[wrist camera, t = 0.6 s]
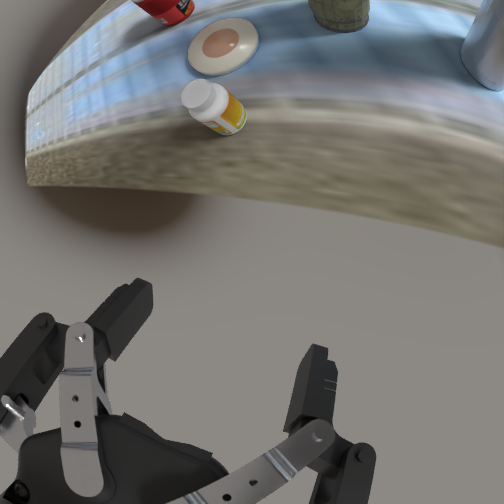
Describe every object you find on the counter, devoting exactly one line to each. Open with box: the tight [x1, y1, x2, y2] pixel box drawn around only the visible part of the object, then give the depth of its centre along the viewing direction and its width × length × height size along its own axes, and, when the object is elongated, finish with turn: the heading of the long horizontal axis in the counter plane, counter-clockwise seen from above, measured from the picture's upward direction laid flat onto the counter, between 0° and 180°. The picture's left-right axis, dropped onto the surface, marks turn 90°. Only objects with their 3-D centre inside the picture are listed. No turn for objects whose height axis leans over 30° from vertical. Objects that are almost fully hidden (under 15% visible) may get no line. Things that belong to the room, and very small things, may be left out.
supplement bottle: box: [181, 79, 247, 135], centre depth 31 cm, size 5×5×10 cm
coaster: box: [188, 17, 260, 76], centre depth 34 cm, size 12×12×2 cm
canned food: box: [131, 0, 194, 26], centre depth 32 cm, size 8×8×11 cm
